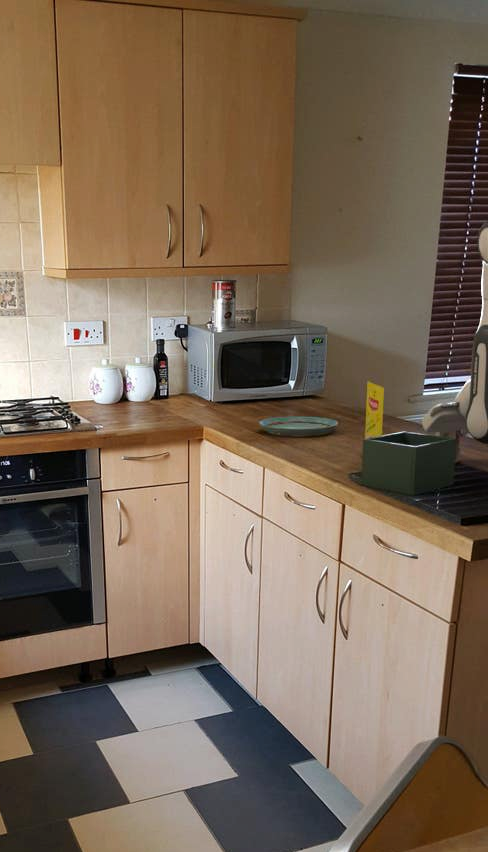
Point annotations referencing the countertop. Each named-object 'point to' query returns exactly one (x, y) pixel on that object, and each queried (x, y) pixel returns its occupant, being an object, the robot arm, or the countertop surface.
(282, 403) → the countertop surface
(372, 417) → the food package
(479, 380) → the robot arm
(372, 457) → the waste bin
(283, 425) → the saucer
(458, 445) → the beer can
